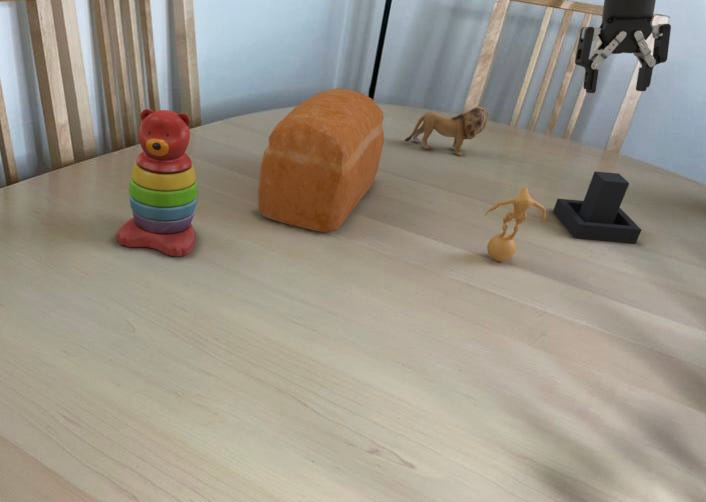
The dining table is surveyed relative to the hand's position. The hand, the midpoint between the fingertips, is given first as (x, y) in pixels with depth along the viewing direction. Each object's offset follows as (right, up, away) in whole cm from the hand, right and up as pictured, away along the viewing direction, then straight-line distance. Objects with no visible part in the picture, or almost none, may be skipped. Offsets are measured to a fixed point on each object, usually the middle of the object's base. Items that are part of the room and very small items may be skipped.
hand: (615, 91), depth 126 cm
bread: (-51, -19, -4) cm, 55 cm away
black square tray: (-6, -24, -5) cm, 25 cm away
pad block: (-6, -23, -5) cm, 25 cm away
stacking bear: (-75, -28, -21) cm, 83 cm away
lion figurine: (-23, -4, +21) cm, 32 cm away
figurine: (-26, -31, -18) cm, 45 cm away
